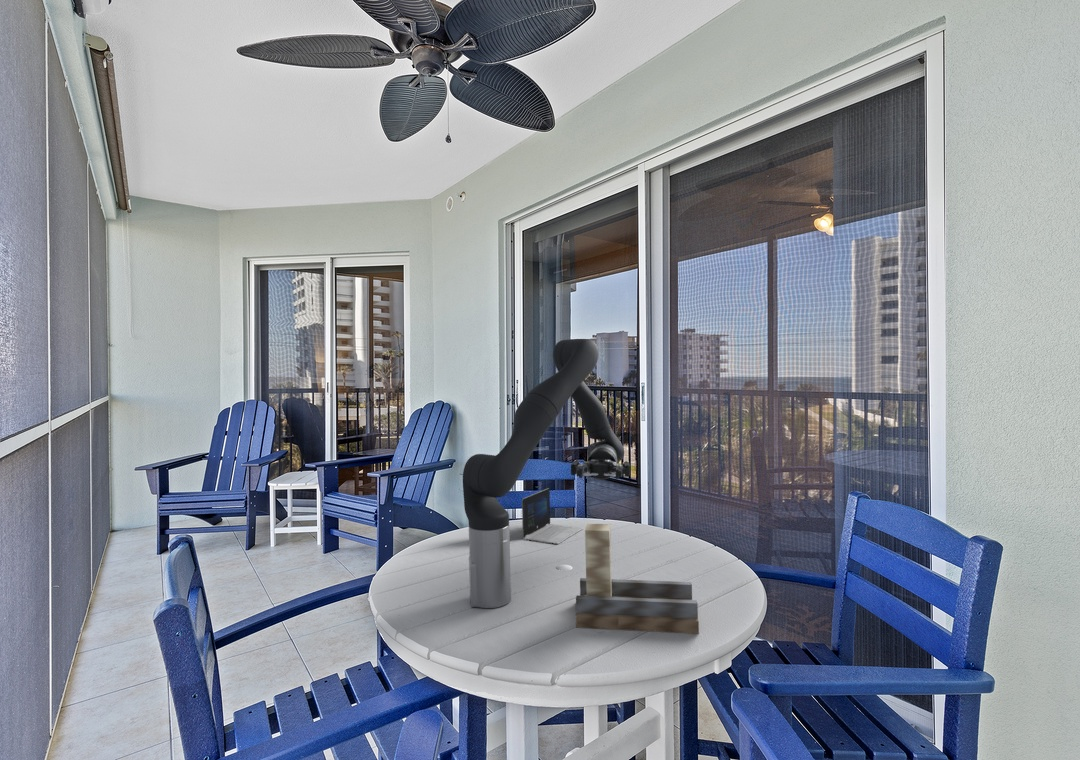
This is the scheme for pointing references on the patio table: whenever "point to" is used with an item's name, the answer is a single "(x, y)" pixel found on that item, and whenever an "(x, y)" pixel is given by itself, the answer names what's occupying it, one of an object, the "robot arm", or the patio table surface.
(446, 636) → the patio table surface
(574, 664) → the patio table surface
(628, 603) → the channel deck
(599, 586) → the tall block
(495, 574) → the robot arm
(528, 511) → the laptop
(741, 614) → the patio table surface
